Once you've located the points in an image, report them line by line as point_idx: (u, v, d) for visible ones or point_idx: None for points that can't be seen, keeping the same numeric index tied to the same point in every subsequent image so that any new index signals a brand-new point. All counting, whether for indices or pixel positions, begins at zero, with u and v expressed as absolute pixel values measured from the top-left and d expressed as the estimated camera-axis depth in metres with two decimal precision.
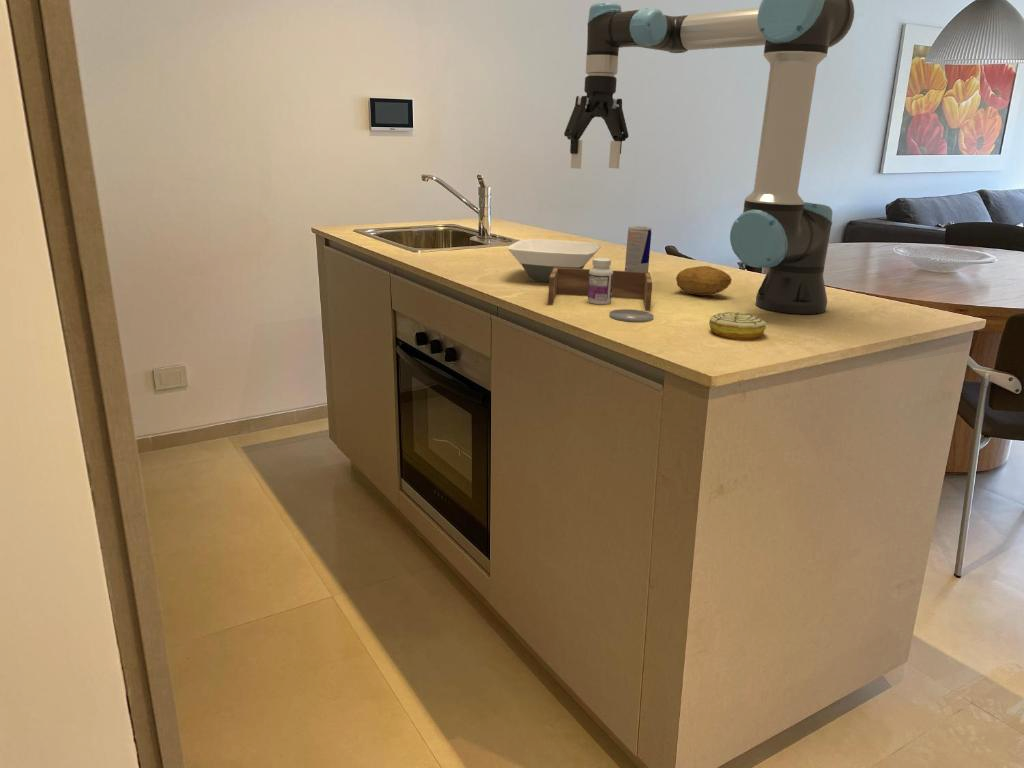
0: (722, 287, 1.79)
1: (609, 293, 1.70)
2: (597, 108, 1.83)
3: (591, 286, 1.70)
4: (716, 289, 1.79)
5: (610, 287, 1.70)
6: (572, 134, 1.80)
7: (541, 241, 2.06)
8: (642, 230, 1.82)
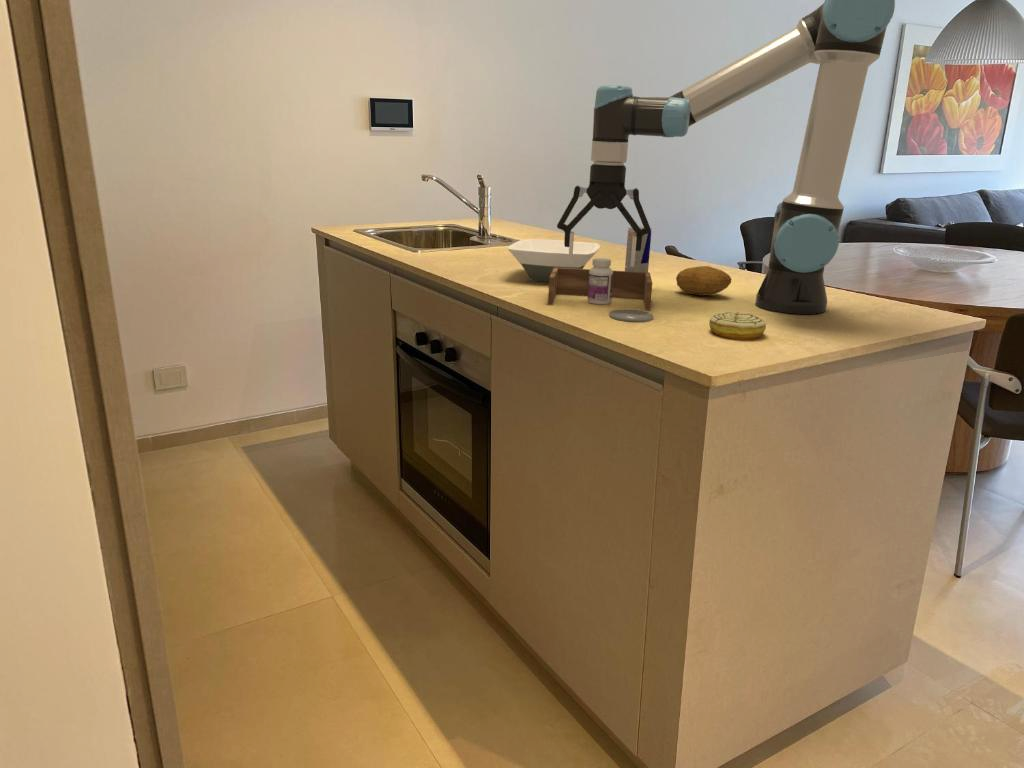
0: (722, 287, 1.79)
1: (609, 293, 1.70)
2: (594, 199, 1.64)
3: (591, 286, 1.70)
4: (716, 289, 1.79)
5: (610, 287, 1.70)
6: (558, 226, 1.67)
7: (541, 241, 2.06)
8: None
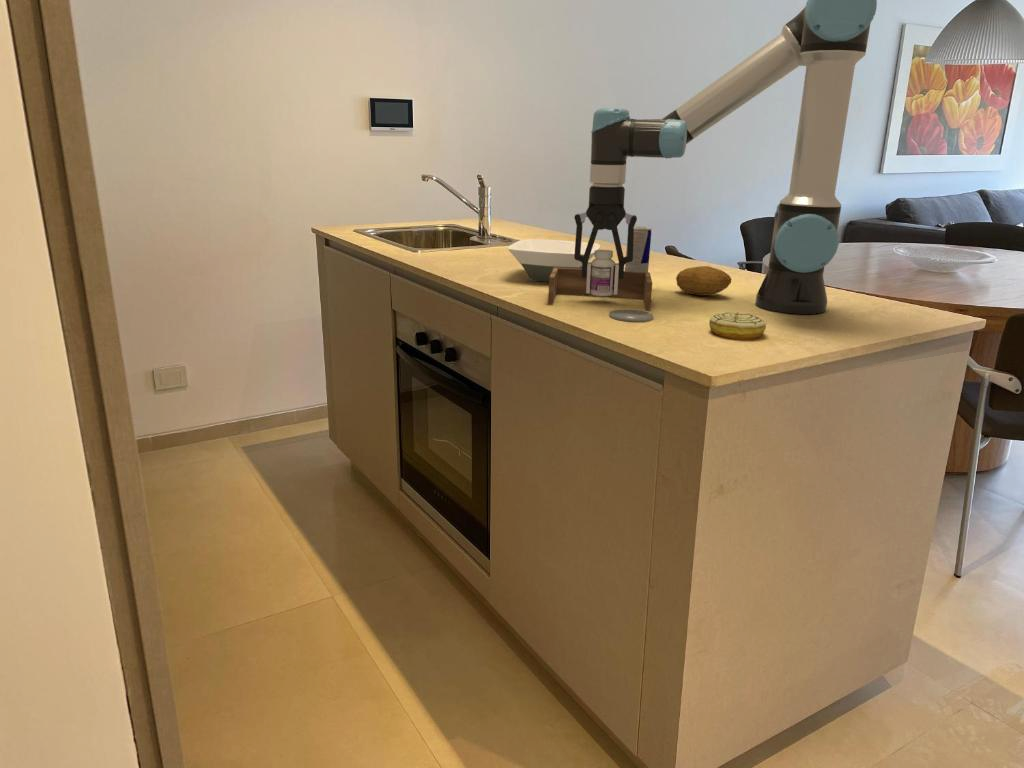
0: (722, 287, 1.79)
1: (611, 284, 1.69)
2: (596, 222, 1.65)
3: (593, 278, 1.69)
4: (716, 289, 1.79)
5: (612, 278, 1.69)
6: (576, 258, 1.69)
7: (541, 241, 2.06)
8: (642, 230, 1.82)
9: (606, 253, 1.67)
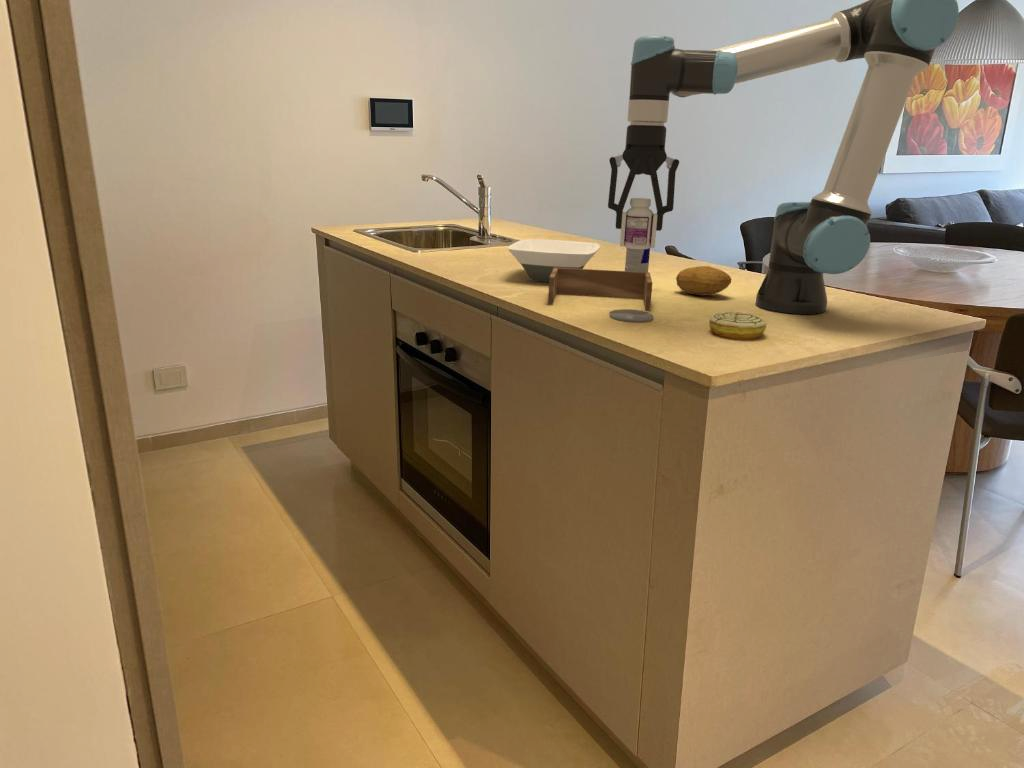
0: (722, 287, 1.79)
1: (649, 237, 1.52)
2: (634, 166, 1.49)
3: (628, 229, 1.52)
4: (716, 289, 1.79)
5: (649, 229, 1.52)
6: (609, 206, 1.52)
7: (541, 241, 2.06)
8: None
9: (644, 201, 1.50)
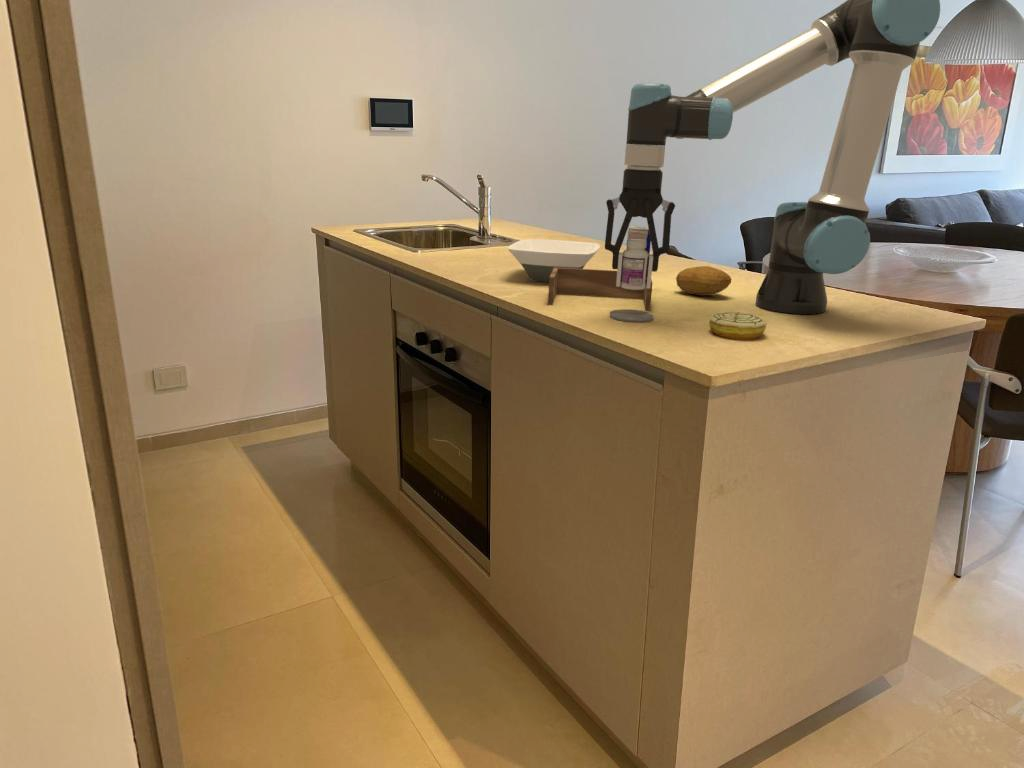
0: (722, 287, 1.79)
1: (644, 277, 1.55)
2: (630, 209, 1.51)
3: (624, 270, 1.55)
4: (716, 289, 1.79)
5: (645, 270, 1.54)
6: (606, 247, 1.54)
7: (541, 241, 2.06)
8: (642, 230, 1.82)
9: (640, 243, 1.53)
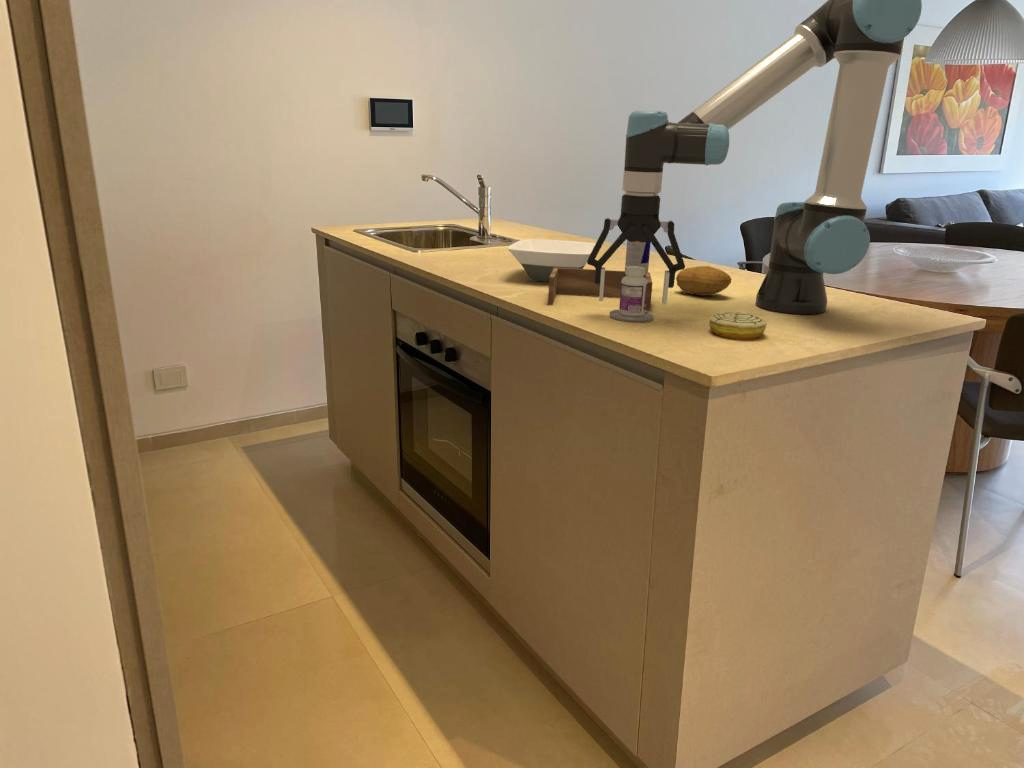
0: (722, 287, 1.79)
1: (643, 304, 1.57)
2: (626, 232, 1.52)
3: (623, 297, 1.56)
4: (716, 289, 1.79)
5: (644, 297, 1.56)
6: (588, 262, 1.56)
7: (541, 241, 2.06)
8: None
9: (638, 270, 1.54)
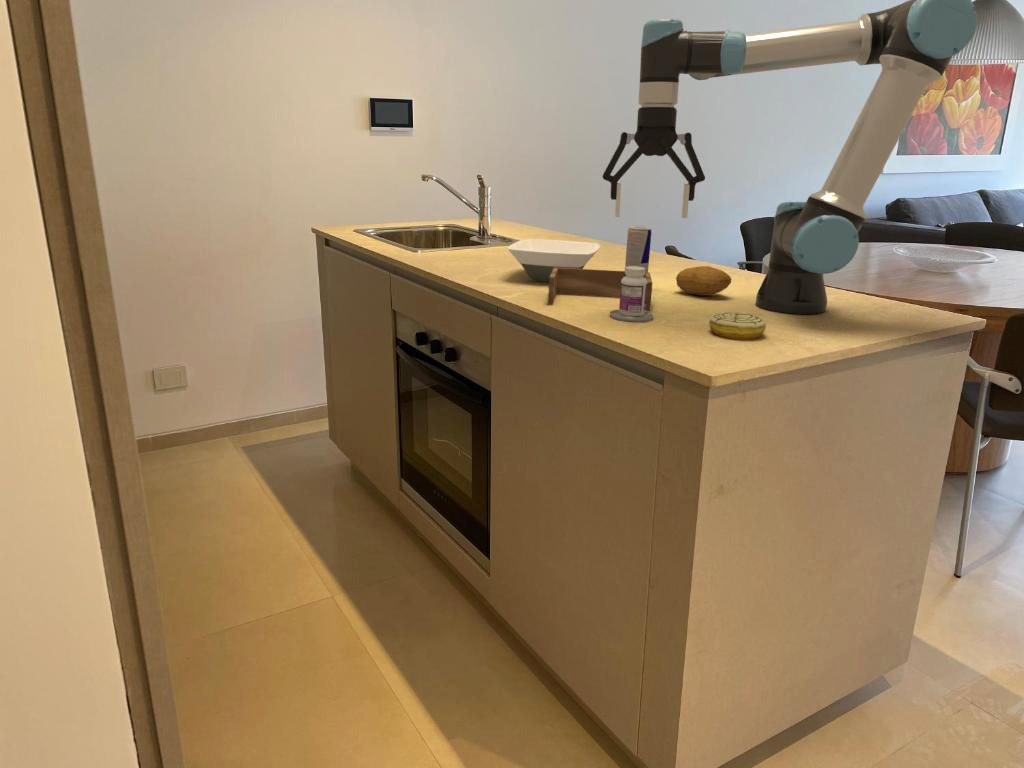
0: (722, 287, 1.79)
1: (643, 304, 1.57)
2: (644, 146, 1.52)
3: (623, 297, 1.56)
4: (716, 289, 1.79)
5: (644, 298, 1.56)
6: (604, 177, 1.55)
7: (541, 241, 2.06)
8: (642, 230, 1.82)
9: (638, 270, 1.54)
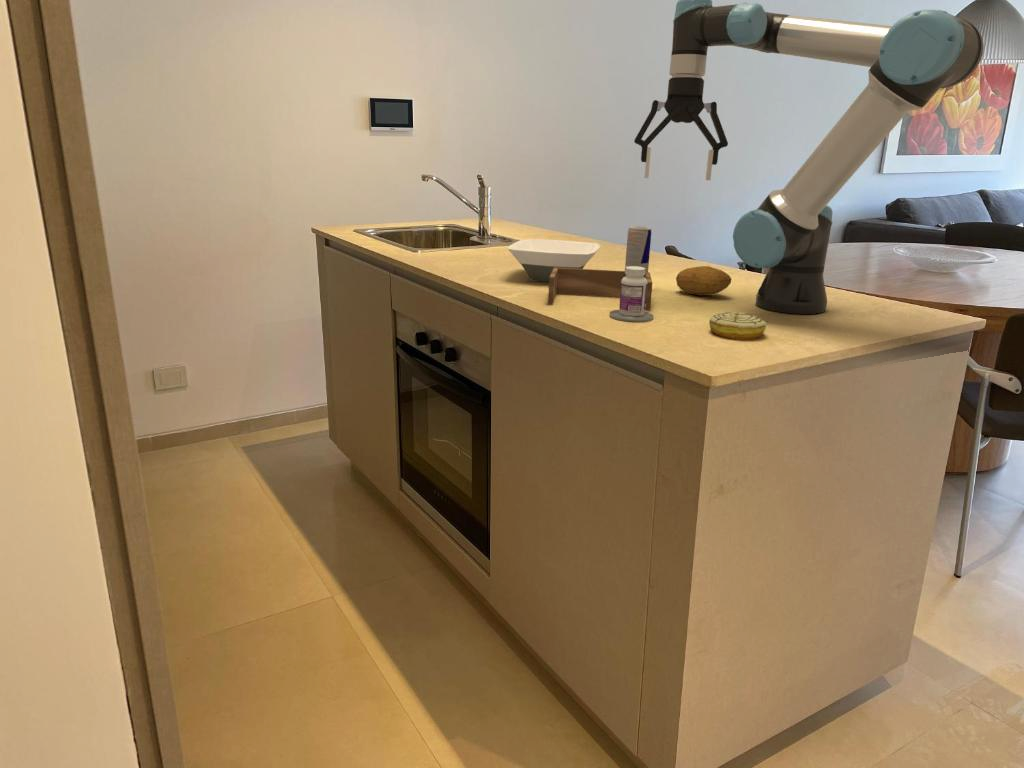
0: (722, 287, 1.79)
1: (643, 304, 1.57)
2: (673, 113, 1.67)
3: (623, 297, 1.56)
4: (716, 289, 1.79)
5: (644, 298, 1.56)
6: (636, 141, 1.70)
7: (541, 241, 2.06)
8: (642, 230, 1.82)
9: (638, 270, 1.54)
